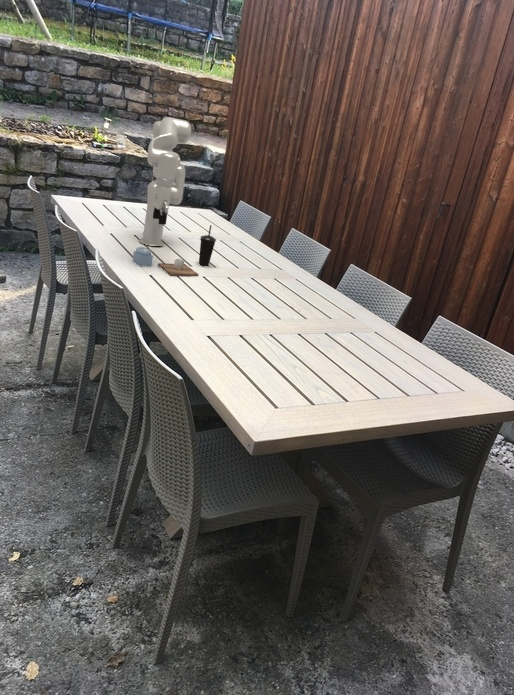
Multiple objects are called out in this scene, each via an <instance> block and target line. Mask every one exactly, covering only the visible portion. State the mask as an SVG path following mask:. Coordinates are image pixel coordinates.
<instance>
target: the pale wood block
mask: <svg viewBox="0 0 514 695" xmlns="http://www.w3.org/2000/svg"><path fill="white" fill-rule="evenodd" d="M173 264H174V269H177V270H182V269H183V265H184V264H185V260H183V259H180V258H176V259H175V260H174V263H173Z"/></svg>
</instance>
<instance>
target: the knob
mask: <svg viewBox="0 0 514 695" xmlns="http://www.w3.org/2000/svg"><path fill="white" fill-rule="evenodd" d="M153 257H154V255H153V254H152V250H151V249H150V248H147V247H143V246H141V247H140V246H139V247H136V250H133V254H132V262H133V261H134V262H135V263H136V264H137V265H140V266H139V267H152V266H153V259H154V258H153ZM134 262H133V263H134ZM135 263H134V264H135ZM136 264H135V265H136ZM137 265H136V266H137ZM142 265H144V266H142ZM145 265H146V266H145Z"/></svg>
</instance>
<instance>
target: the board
mask: <svg viewBox="0 0 514 695" xmlns="http://www.w3.org/2000/svg"><path fill="white" fill-rule="evenodd" d="M158 265H159V266H160V267H161V268H162V269H163V270H162V269H161V268H160V267H159V266H158ZM157 266H158V267H159V268H160V269H161V270H162V271H164V270H165V271H166V272H167V273H168V274H167V273H166V272H165V271H164V272H165V273H166V274H167V275H168V276H170V277H191V276H198V277H199V273H198V272H197V271H195V270H194V269H193V268H191V267H189V266H188V265H187V264H185V263H184V265H183V269H182V270H177V269H174V263H169V262H168V263H165V262H164V263H161V262H158V263H157Z"/></svg>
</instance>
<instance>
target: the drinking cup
mask: <svg viewBox="0 0 514 695" xmlns="http://www.w3.org/2000/svg"><path fill="white" fill-rule="evenodd" d="M208 230H209V231H208V235H207V234H204V235H201V236H200V246H199V259H198V265H199V264H200V265H199V266H201V265H202V266H201V267H204V266H208V267H209V265H210V263H211V258H212V254H213V251H214V248H215V244H216V242H217V239H216V238H215V237H214V236H212V235H211V230H212V225H211V224H210V226H209V229H208Z"/></svg>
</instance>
